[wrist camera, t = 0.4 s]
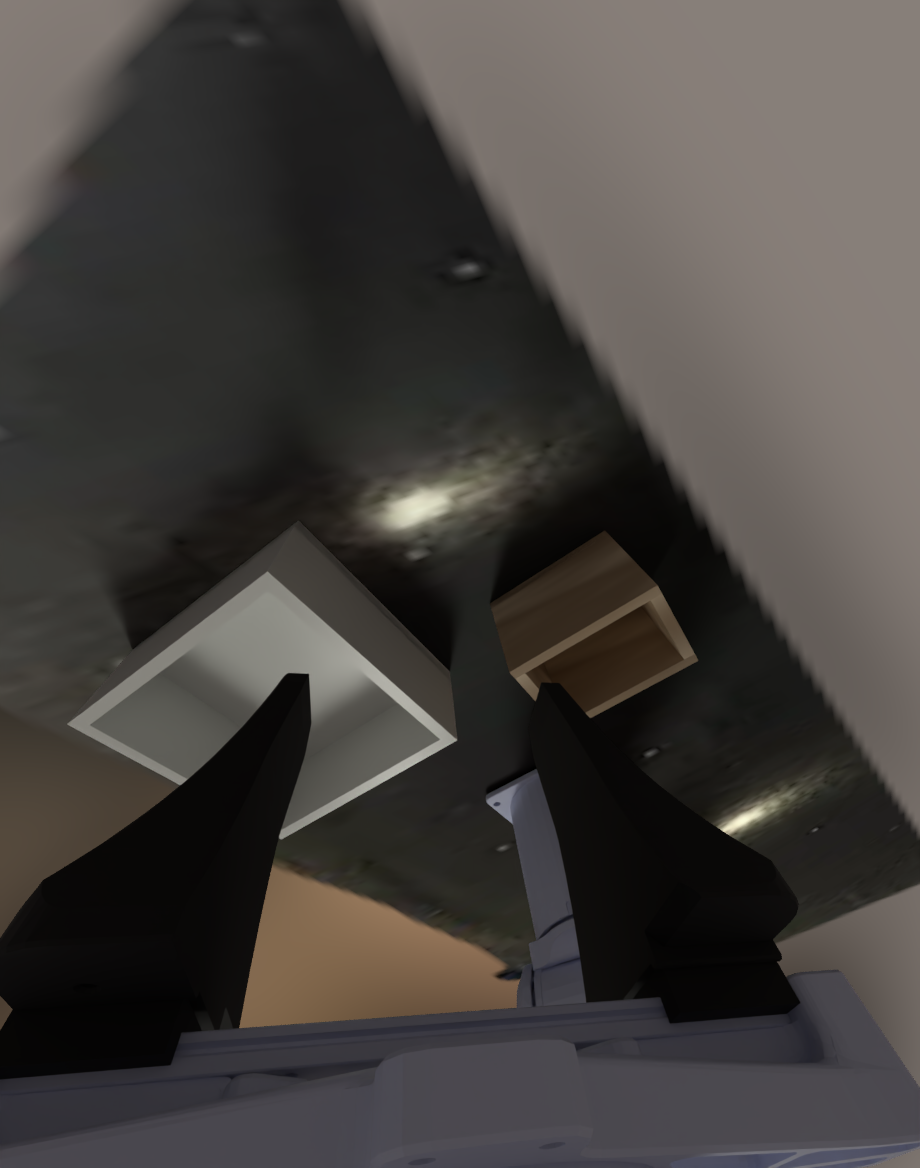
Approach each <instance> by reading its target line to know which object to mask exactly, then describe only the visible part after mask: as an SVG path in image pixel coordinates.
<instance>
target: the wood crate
mask: <svg viewBox="0 0 920 1168" xmlns="http://www.w3.org/2000/svg"><path fill="white" fill-rule="evenodd" d="M490 606H491V609H492V613H493V616H494V620H495V623H496V627H497V630H498V634H499V637H500V641H501V644H502V648H503V651H504V655H505V658H506V662H507V665H508V669H509V672H510V673H511V675H512V676H513V677H514V678H515V679H516V680H517V681H518V682H519V683H520V685H521V686H522V687H523V688H524V689H525V690H526V691H527V692H528V694H529V695H530V696H531V697H532V698H533V699H534V700H535V701H536V699H537V695H538V692H539V688H540V685H541V682H547V683H560V684H561V685H562V686H563V688H564V689H565V690H566V691H567V692H568V693H569V694H570V696H571V697H572V698H573V699H574V700H575V702H576V703H577V704H578V705H579V706H580V707H581V708H582V710H583V711H584V712H585V713H586V714H587V715H588V716H589V718H592V717H594V716H595V715H597V714H599V713H601V712H603V711H605V710H607V709H609V708H610V707H612V706H614V705H616V704H618V703H620V702H622V701H624V700H625V699H627V698H629V697H631V696H633V695H635V694H637V693H639V692H641V691H642V690H644V689H646V688H648V687H650V686H652V685H654V684H656V683H657V682H659V681H661V680H663V679H665V678H667V677H669V676H671V675H672V674H674V673H676V672H678V671H680V670H682V669H684V668H686V667H687V666H689V665H691V664H693V663H695V662H697V661H698V659H697V657H696V655H695V653H694V652H693V650H692V648H691V646H690V644H689V642H688V640H687V639H686V637H685V635H684V633H683V631H682V629H681V628H680V626H679V624H678V622H677V620H676V618H675V617H674V615H673V613H672V611H671V609H670V607H669V605H668V604H667V602H666V600H665V598H664V596H663V594H662V593H661V591H660V589H659V587H658V585H657V584H656V583H655V582H654V581H653V580H652V579H651V578H650V577H649V576H648V575H647V574H646V573H645V572H644V571H643V570H642V569H641V568H640V566H639V565H638V564H637V563H636V562H635V561H634V560H633V559H632V558H631V557H630V556H629V555H628V554H627V553H626V552H625V551H624V550H623V549H622V548H621V547H620V546H619V545H618V544H617V543H616V542H615V541H614V539H613V538H612V537H611V536H610V535H609V534H608V533H607V532H606V531H603V532H601V533H600V534H598V535H597V536H595V537H594V538H592V539H590V540H589V541H587V542H586V543H584V544H583V545H581V546H579V547H578V548H576V549H575V550H573V551H572V552H570V553H568V554H567V555H565V556H564V557H562V558H561V559H559V560H558V561H556V562H554V563H553V564H551V565H550V566H548V567H547V568H545V569H543V570H542V571H540V572H539V573H537V574H536V575H534V576H532V577H531V578H529V579H528V580H526V581H525V582H523V583H521V584H520V585H518V586H517V587H515V588H514V589H512V590H510V591H509V592H507V593H506V594H504V595H503V596H501V597H499V598H498V599H496V600H495V601H493V602H492V603H490Z"/></svg>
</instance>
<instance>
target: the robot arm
mask: <svg viewBox="0 0 920 1168" xmlns="http://www.w3.org/2000/svg"><path fill="white" fill-rule="evenodd" d="M311 723H312V722H311V702H310V682H309V674H303V673H287V674H286V675H284V677H283V678H282V679H281V681H280V682H279V683H278V685H277V686H276V687H275V688H274V690H273V691H272V692H271V694H270V695H269V696H268V697H267V698H266V700H265V701H264V702H263V703H262V705H261V706H260V707H259V708H258V709H257V710H256V711H255V713H254V714H253V715H252V716H251V717H250V718H249V719H248V721H247V722H246V723H245V724H244V725H243V726H242V727H241V728H240V729H239V731H238V732H237V733H236V734H235V735H234V736H233V737H232V738H231V739H230V740H229V741H228V742H227V743H226V744H225V745H224V746H223V747H222V748H221V749H220V750H219V751H218V752H217V753H216V754H215V755H214V756H213V757H212V758H211V759H210V760H209V761H207V762H206V763H205V764H204V765H203V766H202V767H201V768H200V769H199V770H198V771H196V772H195V773H194V774H193V775H192V776H191V777H190V778H189V779H187V780H186V781H185V782H184V783H183V784H181V785H180V786H179V787H178V788H176V789H175V790H174V791H173V792H172V793H170V794H169V795H168V796H167V797H166V798H164V799H163V800H162V801H160V802H159V803H158V804H157V805H155V806H154V807H153V808H151V809H150V810H149V811H147V812H146V813H145V814H143V815H142V816H140V817H139V818H138V819H136V820H135V821H134V822H132V823H131V824H129V825H128V826H126V827H125V828H124V829H122V830H121V831H119V832H118V833H117V834H115V835H114V836H112V837H111V838H109V839H108V840H107V841H105V842H104V843H102V844H101V845H99V846H98V847H96V848H94V849H93V850H91V851H90V852H88V853H86V854H85V855H83V856H82V857H80V858H79V859H77V860H75V861H74V862H72V863H70V864H69V865H67V866H66V867H64V868H63V869H61V870H59V871H58V872H56V873H54V874H53V875H51V876H50V877H48V878H46V879H44V880H43V881H42V882H41V884H40V885H39V886H38V888H37V889H36V890H35V891H34V893H33V894H32V895H31V896H30V897H29V899H28V900H27V901H26V902H25V904H24V905H23V906H22V908H21V909H20V910H19V912H18V913H17V914H16V916H15V917H14V919H13V920H12V922H11V923H10V925H9V926H8V928H7V929H6V930H5V932H4V933H3V935H2V937H1V938H0V996H1V997H2V998H3V999H4V1000H5V1001H6V1002H7V1004H8V1005H9V1006H10V1007H11V1008H12V1009H13V1010H12V1012H11V1014H10V1015H9V1017H8V1018H7V1020H6V1022H5V1023H4V1025H3V1027H2V1029H1V1030H0V1168H861V1167H868V1166H873V1165H876V1164H879V1163H882V1162H884V1161H887V1160H890V1159H892V1158H895V1157H898V1156H900V1155H903V1154H906V1153H908V1152H911V1151H914V1150H916V1149H919V1148H920V1087H919V1086H918V1084H917V1083H916V1081H915V1080H914V1078H913V1077H912V1076H911V1074H910V1073H909V1071H908V1070H907V1068H906V1067H905V1065H904V1064H903V1062H902V1061H901V1059H900V1058H899V1056H898V1055H897V1053H896V1052H895V1051H894V1049H893V1047H892V1046H891V1044H890V1043H889V1041H888V1040H887V1038H886V1037H885V1035H884V1034H883V1032H882V1031H881V1029H880V1028H879V1026H878V1025H877V1023H876V1022H875V1020H874V1019H873V1017H872V1016H871V1014H870V1013H869V1011H868V1010H867V1009H866V1007H865V1006H864V1004H863V1002H862V1001H861V1000H860V998H859V997H858V995H857V994H856V992H855V991H854V989H853V988H852V986H851V985H850V983H849V982H848V980H847V979H846V977H845V976H844V974H843V973H842V972H841V971H839V970H825V971H811V972H800V973H794V974H792V975H789V976H787V977H785V975H784V973H783V971H782V970H781V968H780V966H779V964H778V963H777V961H780V960H781V959H782V956H781V953H780V951H779V950H778V948H777V946H776V944H775V943H774V941H773V938H774V937H776V936H777V935H778V934H779V933H780V932H781V931H782V930H783V929H784V928H785V927H786V926H787V925H788V924H789V923H790V922H791V920H792V919H793V918H794V917H795V915H796V913H797V910H798V905H799V903H798V900H797V898H796V896H795V895H794V893H793V892H792V890H791V889H790V887H789V886H788V884H787V883H786V881H785V880H784V879H783V877H782V876H781V874H780V873H779V871H778V870H777V868H776V867H775V865H774V864H773V863H772V861H771V860H769V859H768V858H766V857H764V856H763V855H761V854H759V853H758V852H756V851H754V850H753V849H751V848H749V847H747V846H746V845H744V844H742V843H741V842H739V841H737V840H736V839H734V838H732V837H731V836H729V835H728V834H726V833H724V832H723V831H721V830H720V829H718V828H717V827H715V826H714V825H712V824H711V823H709V822H708V821H706V820H705V819H703V818H702V817H701V816H699V815H698V814H696V813H695V812H693V811H692V810H691V809H689V808H688V807H687V806H685V805H684V804H683V803H681V802H680V801H679V800H677V799H676V798H675V797H673V796H672V795H671V794H669V793H668V792H667V791H666V790H664V789H663V788H662V787H661V786H659V785H658V784H657V783H656V782H655V781H653V780H652V779H651V778H650V777H649V776H648V775H647V774H645V773H644V772H643V771H642V770H641V769H640V768H638V767H637V766H636V765H635V764H634V763H633V762H632V761H631V760H630V759H629V758H628V757H627V756H626V755H625V754H624V753H623V752H622V751H621V750H620V749H619V748H618V747H617V746H616V745H615V744H614V743H613V742H612V741H611V740H610V739H609V738H608V737H607V736H606V735H605V734H604V733H603V732H602V731H601V730H600V729H599V728H598V726H597V725H596V724H595V723H594V722H593V721H592V720H591V719H590V718H589V716H588V715H587V714H586V713H585V712H584V711H583V710H582V708H581V707H580V706H579V705H578V704H577V703H576V702H575V700H574V699H573V698H572V697H571V696H570V694H569V693H568V692H567V691H566V690H565V689H564V688H563V686H562V685H561V684H560V683H547V682H541V685H540V688H539V692H538V695H537V699H536V702H535V706H534V709H533V713H532V716H531V719H530V723H529V726H528V730H529V736H530V742H531V747H532V753H533V758H534V761H535V765H536V768H537V769H535V770H533V771H531V772H529V773H527V774H525V775H523V776H521V777H519V778H517V779H516V780H514V781H512V782H510V783H508V784H506V785H504V786H502V787H500V788H498V789H496V790H494V791H492V792H491V793H489V794H487V796H486V802H487V803H488V804H489V805H490V806H491V807H492V808H494V809H495V810H496V811H497V812H499V813H500V814H501V815H502V816H503V817H505V818H506V819H507V820H508V821H510V822H511V823H512V824H513V827H514V832H515V837H516V842H517V847H518V852H519V857H520V862H521V866H522V871H523V876H524V881H525V886H526V891H527V896H528V901H529V906H530V911H531V916H532V920H533V925H534V930H535V935H536V941H533V942H531V943H529V948H530V954H531V959H532V964H529V965H526V966H525V967H524V969H523V971H522V975H521V980H520V982H519V985H518V990H517V1008H508V1009H495V1010H481V1011H467V1012H454V1013H440V1014H427V1015H413V1016H400V1017H386V1018H372V1019H359V1020H346V1021H333V1022H319V1023H305V1024H291V1025H279V1026H264V1027H252V1028H251V1027H250V1028H239V1025H240V1020H241V1015H242V1009H243V1004H244V998H245V994H246V988H247V983H248V978H249V972H250V967H251V963H252V958H253V952H254V948H255V943H256V938H257V932H258V928H259V923H260V918H261V914H262V909H263V904H264V900H265V894H266V890H267V886H268V881H269V877H270V872H271V868H272V863H273V859H274V855H275V850H276V846H277V842H278V839H279V835H280V832H281V828H282V825H283V822H284V819H285V816H286V813H287V810H288V807H289V804H290V801H291V798H292V795H293V791H294V788H295V785H296V782H297V779H298V776H299V773H300V770H301V767H302V763H303V760H304V757H305V753H306V748H307V743H308V738H309V733H310V728H311Z"/></svg>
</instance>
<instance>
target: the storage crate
mask: <svg viewBox="0 0 920 1168" xmlns="http://www.w3.org/2000/svg"><path fill="white" fill-rule="evenodd" d="M287 673H303V674H309V682H310V702H311V722H312V723H311V728H310V733H309V738H308V743H307V748H306V753H305V757H304V760H303V763H302V767H301V770H300V773H299V776H298V779H297V782H296V785H295V788H294V791H293V795H292V798H291V801H290V804H289V807H288V810H287V813H286V816H285V819H284V822H283V825H282V828H281V832H280V835H279V838H280V839H283V838H285V837H286V836H288V835H290V834H292V833H293V832H295V831H297V830H299V829H301V828H302V827H304V826H306V825H308V824H309V823H311V822H313V821H315V820H317V819H318V818H320V817H322V816H324V815H325V814H327V813H329V812H331V811H333V810H334V809H336V808H338V807H340V806H341V805H343V804H345V803H347V802H349V801H350V800H352V799H354V798H356V797H357V796H359V795H361V794H363V793H365V792H366V791H368V790H370V789H372V788H373V787H375V786H377V785H379V784H381V783H382V782H384V781H386V780H388V779H389V778H391V777H393V776H395V775H396V774H398V773H400V772H402V771H404V770H405V769H407V768H409V767H411V766H412V765H414V764H416V763H418V762H420V761H421V760H423V759H425V758H427V757H428V756H430V755H432V754H434V753H436V752H437V751H439V750H441V749H443V748H444V747H446V746H448V745H450V744H452V743H453V742H455V741H457V733H456V724H455V714H454V705H453V696H452V687H451V678H450V671H449V670H448V669H447V668H446V667H445V666H444V665H443V664H442V663H441V662H440V661H439V660H438V659H437V658H436V657H435V656H434V655H433V654H432V653H431V652H430V651H429V650H428V649H427V648H426V647H425V646H424V645H423V644H422V643H421V642H420V641H419V640H418V639H417V638H416V637H415V636H414V635H413V634H412V633H411V632H410V631H409V630H408V629H407V628H406V627H405V626H404V625H403V624H402V623H401V622H400V621H399V620H398V619H397V618H396V617H395V616H394V615H393V614H392V613H391V612H390V611H389V610H388V609H387V608H386V607H385V606H384V605H383V604H382V603H381V602H380V601H379V600H378V599H377V598H376V597H375V596H374V595H373V594H372V593H371V592H370V591H369V590H368V589H367V588H366V587H365V586H364V585H363V584H362V583H361V582H360V581H359V580H358V579H357V578H356V577H355V576H354V575H353V574H352V573H351V572H350V571H349V570H348V569H347V568H346V567H345V566H344V565H343V564H342V563H341V562H340V561H339V560H338V559H337V558H336V557H335V556H334V555H333V554H332V553H331V552H330V551H329V550H328V549H327V548H326V547H325V546H324V545H323V544H322V543H321V542H320V541H319V540H318V539H317V538H316V537H315V536H314V535H313V534H312V533H311V532H310V531H309V530H308V529H307V528H306V527H305V526H304V525H303V524H302V523H301V522H300V521H299V520H298V521H297V522H295V523H294V524H293V525H292V526H290V527H289V528H288V529H286V530H285V531H284V532H283V533H281V534H280V535H279V536H277V537H276V538H275V539H274V540H272V541H271V542H270V543H269V544H267V545H266V546H265V547H263V548H262V549H261V550H260V551H258V552H257V553H256V554H254V555H253V556H252V557H251V558H249V559H248V560H247V561H245V562H244V563H243V564H242V565H240V566H239V567H238V568H237V569H235V570H234V571H233V572H231V573H230V574H229V575H228V576H226V577H225V578H224V579H222V580H221V581H220V582H219V583H217V584H216V585H215V586H214V587H212V588H211V589H210V590H208V591H207V592H206V593H205V594H203V595H202V596H201V597H199V598H198V599H197V600H196V601H194V602H193V603H192V604H190V605H189V606H188V607H187V608H185V609H184V610H183V611H182V612H180V613H179V614H178V615H176V616H175V617H174V618H173V619H171V620H170V621H169V622H167V623H166V624H165V625H164V626H162V627H161V628H160V629H159V630H157V631H156V632H155V633H153V634H152V635H151V636H150V637H148V638H147V639H146V640H144V641H143V642H142V643H141V644H139V645H138V646H137V647H135V648H134V649H133V650H132V651H131V652H130V653H129V654H128V655H127V656H126V658H125V659H124V660H123V661H122V662H121V663H120V664H119V666H118V667H117V668H116V669H115V670H114V671H113V672H112V674H111V675H110V676H109V677H108V678H107V679H106V680H105V682H104V683H103V684H102V685H101V686H100V687H99V688H98V690H97V691H96V692H95V693H94V694H93V695H92V696H91V698H90V699H89V700H88V701H87V702H86V703H85V704H84V706H83V707H82V708H81V709H80V710H79V711H78V712H77V713H76V715H75V716H74V717H73V718H72V719H71V720H70V721H69V723H68V724H67V725H69V726H71V727H73V728H75V729H77V730H79V731H81V732H82V733H84V734H86V735H88V736H90V737H92V738H94V739H95V740H97V741H99V742H101V743H103V744H105V745H107V746H108V747H110V748H112V749H114V750H116V751H118V752H120V753H121V754H123V755H125V756H127V757H129V758H131V759H133V760H135V761H136V762H138V763H140V764H142V765H144V766H146V767H148V768H149V769H151V770H153V771H155V772H157V773H159V774H161V775H162V776H164V777H166V778H168V779H170V780H172V781H174V782H175V783H177V784H179V785H181V784H183V783H184V782H185V781H186V780H187V779H189V778H190V777H191V776H192V775H193V774H194V773H195V772H196V771H198V770H199V769H200V768H201V767H202V766H203V765H204V764H205V763H206V762H207V761H209V760H210V759H211V758H212V757H213V756H214V755H215V754H216V753H217V752H218V751H219V750H220V749H221V748H222V747H223V746H224V745H225V744H226V743H227V742H228V741H229V740H230V739H231V738H232V737H233V736H234V735H235V734H236V733H237V732H238V731H239V729H240V728H241V727H242V726H243V725H244V724H245V723H246V722H247V721H248V719H249V718H250V717H251V716H252V715H253V714H254V713H255V711H256V710H257V709H258V708H259V707H260V706H261V705H262V703H263V702H264V701H265V700H266V698H267V697H268V696H269V695H270V694H271V692H272V691H273V690H274V688H275V687H276V686H277V685H278V683H279V682H280V681H281V679H282V678H283V677H284V675H286V674H287Z"/></svg>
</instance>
